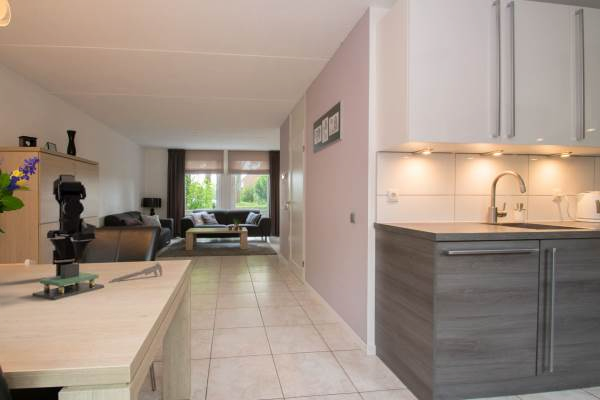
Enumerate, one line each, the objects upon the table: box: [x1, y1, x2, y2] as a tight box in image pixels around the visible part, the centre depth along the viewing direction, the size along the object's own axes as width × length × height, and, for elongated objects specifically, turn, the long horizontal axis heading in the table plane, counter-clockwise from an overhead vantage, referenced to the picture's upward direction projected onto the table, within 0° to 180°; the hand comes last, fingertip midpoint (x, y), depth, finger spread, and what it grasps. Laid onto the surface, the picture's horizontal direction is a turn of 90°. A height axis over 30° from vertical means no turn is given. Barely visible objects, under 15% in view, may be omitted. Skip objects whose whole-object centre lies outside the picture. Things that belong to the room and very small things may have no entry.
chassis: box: [31, 279, 105, 301], centre depth 127 cm, size 12×18×4 cm, turn 156°
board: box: [39, 263, 99, 287], centre depth 127 cm, size 11×14×6 cm
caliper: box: [108, 262, 163, 283], centre depth 147 cm, size 20×1×6 cm, turn 127°
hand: (71, 258), depth 128 cm, fingers open, 9 cm apart
